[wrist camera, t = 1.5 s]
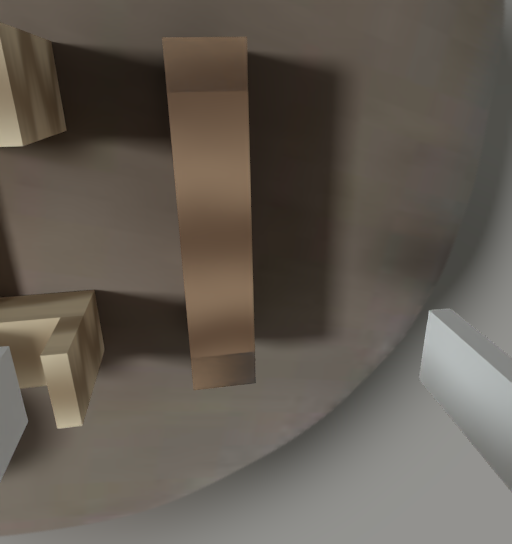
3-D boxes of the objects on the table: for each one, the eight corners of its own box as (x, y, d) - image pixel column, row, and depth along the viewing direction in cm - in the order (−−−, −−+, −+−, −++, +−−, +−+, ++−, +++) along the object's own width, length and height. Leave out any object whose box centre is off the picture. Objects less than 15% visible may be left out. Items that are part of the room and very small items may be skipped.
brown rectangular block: (166, 49, 27) (162, 37, 21) (231, 49, 28) (246, 36, 21) (191, 335, 35) (193, 390, 28) (242, 330, 35) (255, 383, 29)
